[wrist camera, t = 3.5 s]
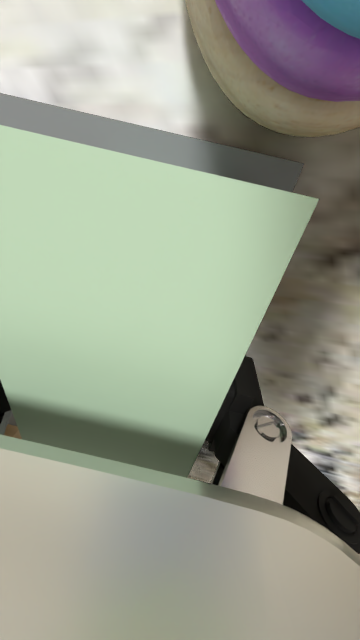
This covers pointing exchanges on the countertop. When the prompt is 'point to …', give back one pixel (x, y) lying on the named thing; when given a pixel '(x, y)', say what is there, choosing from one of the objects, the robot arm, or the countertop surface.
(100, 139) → the mat
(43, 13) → the countertop surface
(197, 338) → the beam
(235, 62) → the stacking toy
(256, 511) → the robot arm
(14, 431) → the pillar
